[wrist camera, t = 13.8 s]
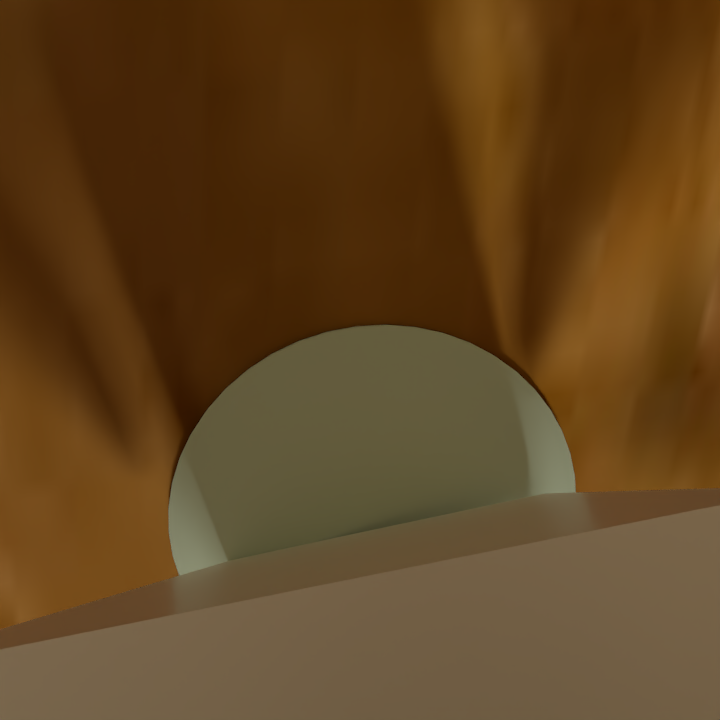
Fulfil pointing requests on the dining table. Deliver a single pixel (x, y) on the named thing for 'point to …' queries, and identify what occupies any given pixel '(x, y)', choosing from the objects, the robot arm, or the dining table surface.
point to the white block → (409, 624)
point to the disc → (359, 443)
